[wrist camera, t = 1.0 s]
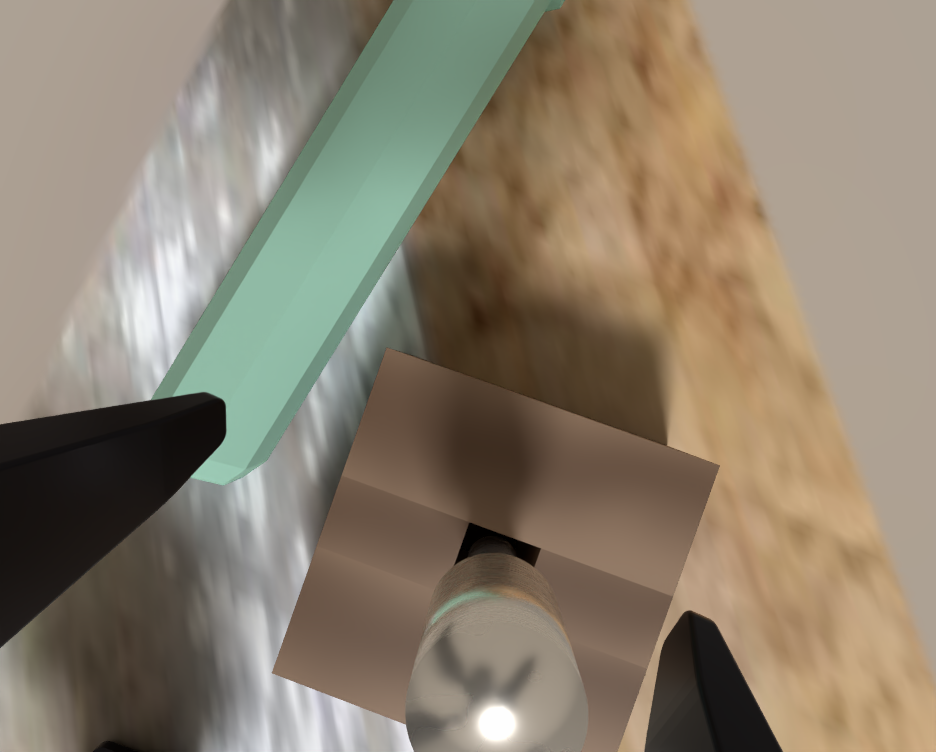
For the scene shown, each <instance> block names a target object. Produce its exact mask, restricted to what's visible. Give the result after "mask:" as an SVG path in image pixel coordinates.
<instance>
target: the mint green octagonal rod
mask: <svg viewBox="0 0 936 752" xmlns="http://www.w3.org/2000/svg"><path fill="white" fill-rule="evenodd" d="M564 1H565V0H393V2H392V4H391V5H390V7H389V9H388V10H387V12H386V13H385V15H384V17H383V18H382V20H381V22H380V23H379V25H378V27H377V28H376V30H375V32H374V33H373V35H372V37H371V38H370V40H369V41H368V43H367V45H366V46H365V48H364V50H363V51H362V53H361V55H360V56H359V58H358V60H357V61H356V63H355V65H354V66H353V68H352V69H351V71H350V73H349V74H348V76H347V78H346V79H345V81H344V83H343V84H342V86H341V88H340V89H339V91H338V93H337V94H336V96H335V97H334V99H333V101H332V102H331V104H330V106H329V107H328V109H327V111H326V112H325V114H324V116H323V117H322V119H321V120H320V122H319V124H318V125H317V127H316V129H315V130H314V132H313V134H312V135H311V137H310V139H309V140H308V142H307V144H306V145H305V147H304V148H303V150H302V152H301V153H300V155H299V157H298V158H297V160H296V162H295V163H294V165H293V167H292V168H291V170H290V172H289V173H288V175H287V176H286V178H285V180H284V181H283V183H282V185H281V186H280V188H279V190H278V191H277V193H276V195H275V196H274V198H273V200H272V201H271V203H270V204H269V206H268V208H267V209H266V211H265V213H264V214H263V216H262V218H261V219H260V221H259V223H258V224H257V226H256V228H255V229H254V231H253V232H252V234H251V236H250V237H249V239H248V241H247V242H246V244H245V246H244V247H243V249H242V251H241V252H240V254H239V256H238V257H237V259H236V260H235V262H234V264H233V265H232V267H231V269H230V270H229V272H228V274H227V275H226V277H225V279H224V280H223V282H222V283H221V285H220V287H219V288H218V290H217V292H216V293H215V295H214V297H213V298H212V300H211V302H210V303H209V305H208V307H207V308H206V310H205V311H204V313H203V315H202V316H201V318H200V320H199V321H198V323H197V325H196V326H195V328H194V330H193V331H192V333H191V335H190V336H189V338H188V339H187V341H186V343H185V344H184V346H183V348H182V349H181V351H180V353H179V354H178V356H177V358H176V359H175V361H174V363H173V364H172V366H171V367H170V369H169V371H168V372H167V374H166V376H165V377H164V379H163V381H162V382H161V384H160V386H159V387H158V389H157V391H156V392H155V394H154V395H153V397H152V399H151V400H155V399H162V398H168V397H174V396H180V395H186V394H193V393H199V392H208V393H210V394H213V395H215V396H217V397H219V398H221V399H223V400H224V402H225V404H226V428H227V432H226V437H225V439H224V441H223V442H222V444H221V445H220V446H219V447H218V448H217V449H216V451H215V452H214V453H213V454H212V455H211V456H210V457H209V458H208V459H207V460H206V461H205V462H204V463H203V464H202V465H201V466H200V467H199V469H198V470H197V471H196V472H195V473H194V474H193V475H192V476H191V477H190V478H194V479H198V480H202V481H207V482H211V483H215V484H219V485H226V484H228V483H230V482H233V481H235V480H237V479H240V478H242V477H244V476H245V475H247V474H248V473H250V472H251V471H252V470H254V469H255V468H257V467H258V466H260V465H261V464H263V463H264V462H266V461H267V459H268V458H269V456H270V454H271V453H272V451H273V450H274V448H275V446H276V445H277V443H278V442H279V440H280V438H281V437H282V435H283V433H284V432H285V430H286V429H287V427H288V425H289V424H290V422H291V421H292V419H293V417H294V416H295V414H296V412H297V411H298V409H299V408H300V406H301V404H302V403H303V401H304V400H305V398H306V396H307V395H308V393H309V391H310V390H311V388H312V387H313V385H314V383H315V382H316V380H317V379H318V377H319V375H320V374H321V372H322V370H323V369H324V367H325V366H326V364H327V362H328V361H329V359H330V358H331V356H332V354H333V353H334V351H335V349H336V348H337V346H338V345H339V343H340V341H341V340H342V338H343V337H344V335H345V333H346V332H347V330H348V328H349V327H350V325H351V324H352V322H353V320H354V319H355V317H356V316H357V314H358V312H359V311H360V309H361V307H362V306H363V304H364V303H365V301H366V299H367V298H368V296H369V295H370V293H371V291H372V290H373V288H374V286H375V285H376V283H377V282H378V280H379V278H380V277H381V275H382V274H383V272H384V270H385V269H386V267H387V265H388V264H389V262H390V261H391V259H392V257H393V256H394V254H395V253H396V251H397V249H398V248H399V246H400V244H401V243H402V241H403V240H404V238H405V236H406V235H407V233H408V232H409V230H410V228H411V227H412V225H413V223H414V222H415V220H416V219H417V217H418V215H419V214H420V212H421V211H422V209H423V207H424V206H425V204H426V202H427V201H428V199H429V198H430V196H431V194H432V193H433V191H434V190H435V188H436V186H437V185H438V183H439V181H440V180H441V178H442V177H443V175H444V173H445V172H446V170H447V169H448V167H449V165H450V164H451V162H452V160H453V159H454V157H455V156H456V154H457V152H458V151H459V149H460V148H461V146H462V144H463V143H464V141H465V139H466V138H467V136H468V135H469V133H470V131H471V130H472V128H473V127H474V125H475V123H476V122H477V120H478V118H479V117H480V115H481V114H482V112H483V110H484V109H485V107H486V106H487V104H488V102H489V101H490V99H491V97H492V96H493V94H494V93H495V91H496V89H497V88H498V86H499V85H500V83H501V81H502V80H503V78H504V76H505V75H506V73H507V72H508V70H509V68H510V67H511V65H512V64H513V62H514V60H515V59H516V57H517V55H518V54H519V52H520V51H521V49H522V47H523V46H524V44H525V43H526V41H527V39H528V38H529V36H530V34H531V33H532V31H533V30H534V28H535V26H536V25H537V23H538V22H539V20H540V18H541V17H542V15H543V13H544V12H546V11H551V10H556V9H560V7H561V6H562V4H563V3H564Z"/></svg>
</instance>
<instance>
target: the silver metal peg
mask: <svg viewBox="0 0 936 752" xmlns="http://www.w3.org/2000/svg"><path fill="white" fill-rule="evenodd" d="M405 718H406V727H407V731H408V735H409V739H410V742H411V745H412V747H413V750H414V752H581V750H582V748H583V745H584V742H585V738H586V734H587V727H588V704H587V697H586V693H585V690H584V686H583V683H582V679H581V676H580V673H579V670H578V667H577V663H576V660H575V657H574V654H573V651H572V647H571V644H570V641H569V638H568V635H567V631H566V628H565V625H564V622H563V619H562V616H561V612H560V609H559V606H558V603H557V600H556V597H555V594H554V592H553V590H552V588H551V586H550V585H549V583H548V582H547V580H546V579H545V578H544V576H543V575H542V574H541V573H540V572H539V571H538V570H537V569H535V568H534V567H533V566H532V565H530V564H529V563H527V562H525V561H524V560H521V559H519V558H517V556H516V552H515V550H514V548H513V547H512V545H511V544H510V543H509V542H508V541H507V540H505V539H503V538H501V537H498V536H486V537H483V538H481V539H479V540H477V541H476V542H475V543H474V544H473V545H472V547H471V548H470V550H469V553H468V558H466V559H464V560H462V561H461V562H459V563H457V564H456V565H455V566H453V567H452V568H451V569H450V570H449V571H448V572H446V573H445V575H444V576H443V577H442V578H441V580H440V581H439V583H438V584H437V586H436V588H435V590H434V592H433V595H432V598H431V601H430V605H429V609H428V613H427V616H426V620H425V624H424V628H423V632H422V636H421V640H420V644H419V648H418V652H417V655H416V659H415V663H414V667H413V671H412V675H411V679H410V683H409V687H408V690H407V696H406V703H405Z"/></svg>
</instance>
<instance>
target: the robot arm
mask: <svg viewBox="0 0 936 752" xmlns="http://www.w3.org/2000/svg"><path fill="white" fill-rule="evenodd" d="M226 432H227V428H226V404H225V402H224V400H223V399H221V398H219V397H217V396H215V395H213V394H210V393H208V392H199V393H193V394H186V395H180V396H174V397H168V398H162V399H155V400H149V401H143V402H137V403H130V404H124V405H118V406H112V407H106V408H99V409H93V410H87V411H81V412H75V413H68V414H62V415H56V416H50V417H44V418H37V419H31V420H25V421H19V422H12V423H6V424H1V425H0V648H1V647H2V646H3V645H4V644H5V643H6V642H8V641H9V640H10V639H11V638H12V637H13V636H14V635H16V634H17V633H18V632H19V631H20V630H21V629H22V628H24V627H25V626H26V625H27V624H28V623H29V622H30V621H32V620H33V619H34V618H35V617H36V616H37V615H38V614H40V613H41V612H42V611H43V610H44V609H45V608H46V607H48V606H49V605H50V604H51V603H52V602H53V601H54V600H56V599H57V598H58V597H59V596H60V595H61V594H62V593H64V592H65V591H66V590H67V589H68V588H69V587H70V586H72V585H73V584H74V583H75V582H76V581H77V580H78V579H79V578H81V577H82V576H83V575H84V574H85V573H86V572H87V571H89V570H90V569H91V568H92V567H93V566H94V565H95V564H97V563H98V562H99V561H100V560H101V559H102V558H103V557H105V556H106V555H107V554H108V553H109V552H110V551H111V550H113V549H114V548H115V547H116V546H117V545H118V544H119V543H121V542H122V541H123V540H124V539H125V538H126V537H127V536H129V535H130V534H131V533H132V532H133V531H134V530H135V529H137V528H138V527H139V526H140V525H141V524H142V523H143V522H145V521H146V520H147V519H148V518H149V517H150V516H151V515H153V514H154V513H155V512H156V511H157V510H158V509H159V508H160V507H161V506H163V505H164V504H165V503H166V502H167V501H168V500H169V499H170V498H171V497H172V496H173V495H174V494H175V493H176V492H177V491H178V490H179V489H180V488H181V487H182V485H183V484H184V483H185V482H186V481H187V480H188V479H189V478H190V477H191V476H192V475H193V474H194V473H195V472H196V471H197V470H198V469H199V467H200V466H201V465H202V464H203V463H204V462H205V461H206V460H207V459H208V458H209V457H210V456H211V455H212V454H213V453H214V452H215V451H216V449H217V448H218V447H219V446H220V445H221V444H222V442H223V441H224V439H225V437H226ZM93 752H137V751H134V750H132V749H129V748H127V747H124V746H122V745H119V744H116V743H114V742H111V741H106V742H103V743H102V744H100V745H99V746H98V747H97V748H96V749H95V750H94V751H93ZM644 752H783V751H782V749H781V747H780V745H779V743H778V742H777V740H776V738H775V736H774V734H773V732H772V730H771V728H770V726H769V724H768V722H767V721H766V719H765V717H764V715H763V713H762V711H761V709H760V707H759V705H758V703H757V701H756V700H755V698H754V696H753V694H752V692H751V690H750V688H749V686H748V684H747V682H746V680H745V679H744V677H743V675H742V673H741V671H740V669H739V667H738V665H737V663H736V661H735V659H734V658H733V656H732V654H731V652H730V650H729V648H728V646H727V644H726V642H725V640H724V638H723V637H722V635H721V633H720V631H719V629H718V627H717V625H716V624H715V623H714V622H713V621H712V620H711V619H709V618H706V617H704V616H702V615H700V614H698V613H695V612H693V611H686V612H684V613H683V615H682V616H681V617H680V619H679V620H678V622H677V623H676V625H675V626H674V628H673V629H672V631H671V632H670V633H669V635H668V636H667V638H666V640H665V642H664V644H663V647H662V650H661V654H660V660H659V666H658V672H657V678H656V684H655V689H654V695H653V701H652V707H651V713H650V719H649V725H648V731H647V737H646V744H645V751H644Z"/></svg>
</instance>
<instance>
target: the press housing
mask: <svg viewBox="0 0 936 752" xmlns="http://www.w3.org/2000/svg"><path fill="white" fill-rule="evenodd" d="M719 467H720V465H717V464H714V463H712V462H709V461H706V460H704V459H701V458H698V457H696V456H693V455H690V454H688V453H685V452H682V451H680V450H677V449H674V448H671V447H669V446H666V445H663V444H660V443H658V442H655V441H652V440H649V439H646V438H643V437H641V436H638V435H635V434H632V433H629V432H627V431H624V430H621V429H618V428H615V427H612V426H610V425H607V424H604V423H601V422H598V421H595V420H593V419H590V418H587V417H584V416H581V415H579V414H576V413H573V412H570V411H567V410H564V409H562V408H559V407H556V406H553V405H550V404H547V403H545V402H542V401H539V400H536V399H533V398H531V397H528V396H525V395H522V394H519V393H516V392H514V391H511V390H508V389H505V388H502V387H499V386H497V385H494V384H491V383H488V382H485V381H483V380H480V379H477V378H474V377H471V376H468V375H466V374H463V373H460V372H457V371H454V370H451V369H449V368H446V367H443V366H440V365H437V364H435V363H432V362H429V361H426V360H423V359H420V358H418V357H415V356H412V355H409V354H406V353H403V352H400V351H396V350H393V349H390V348H386V351H385V354H384V356H383V359H382V362H381V365H380V368H379V371H378V373H377V376H376V379H375V382H374V385H373V388H372V391H371V393H370V396H369V399H368V402H367V405H366V408H365V410H364V413H363V416H362V419H361V422H360V425H359V427H358V430H357V433H356V436H355V439H354V442H353V444H352V447H351V450H350V453H349V456H348V459H347V461H346V464H345V467H344V470H343V473H342V476H341V478H340V481H339V484H338V487H337V490H336V493H335V495H334V498H333V501H332V504H331V507H330V510H329V512H328V515H327V518H326V521H325V524H324V527H323V529H322V532H321V535H320V538H319V541H318V544H317V547H316V549H315V552H314V555H313V558H312V561H311V564H310V566H309V569H308V572H307V575H306V578H305V581H304V583H303V586H302V589H301V592H300V595H299V598H298V600H297V603H296V606H295V609H294V612H293V615H292V617H291V620H290V623H289V626H288V629H287V632H286V634H285V637H284V640H283V643H282V646H281V649H280V651H279V654H278V657H277V660H276V663H275V666H274V668H273V671H272V673H273V674H275V675H278V676H281V677H283V678H286V679H289V680H291V681H294V682H296V683H299V684H302V685H304V686H307V687H309V688H312V689H315V690H317V691H320V692H322V693H325V694H328V695H330V696H333V697H335V698H338V699H341V700H343V701H346V702H349V703H351V704H354V705H356V706H359V707H362V708H364V709H367V710H369V711H372V712H375V713H377V714H380V715H382V716H385V717H388V718H390V719H393V720H396V721H398V722H401V723H403V724H406V718H405V703H406V696H407V690H408V687H409V683H410V679H411V675H412V671H413V667H414V663H415V659H416V655H417V652H418V648H419V644H420V640H421V636H422V632H423V628H424V624H425V620H426V616H427V613H428V609H429V605H430V601H431V598H432V595H433V592H434V590H435V588H436V586H437V584H438V583H439V581H440V580H441V578H442V577H443V576H444V575H445V573H446V572H448V571H449V570H450V569H451V568H452V567H453V566H455V565H456V564H457V563H459V562H461V561H462V560H464V559H466V558H468V553H469V552H468V551H466V550H463V549H460V547H461V544H462V541H463V539H464V536H465V533H466V530H467V527H468V525H469V522H470V523H473V524H476V525H478V526H481V527H484V528H487V529H489V530H492V531H495V532H498V533H500V534H503V535H506V536H509V537H511V538H514V539H517V540H519V541H518V544H517V547H516V549H515V552H516V556H517V558H519V559H521V560H524V561H525V562H527V563H529V564H530V565H532V566H533V567H534V568H535V569H537V570H538V571H539V572H540V573H541V574H542V575H543V576H544V578H545V579H546V580H547V582H548V583H549V585H550V586H551V588H552V590H553V592H554V594H555V597H556V600H557V603H558V606H559V609H560V612H561V616H562V619H563V622H564V625H565V628H566V631H567V635H568V638H569V641H570V644H571V647H572V651H573V654H574V657H575V660H576V663H577V667H578V670H579V673H580V676H581V679H582V683H583V686H584V690H585V693H586V697H587V704H588V727H587V734H586V738H585V742H584V745H583V748H582V750H581V752H617V751H618V748H619V746H620V743H621V740H622V737H623V735H624V732H625V729H626V726H627V723H628V721H629V718H630V715H631V712H632V709H633V707H634V704H635V701H636V698H637V695H638V693H639V690H640V687H641V684H642V682H643V679H644V676H645V673H646V670H647V668H648V665H649V662H650V659H651V656H652V654H653V651H654V648H655V645H656V642H657V640H658V637H659V634H660V631H661V629H662V626H663V623H664V620H665V617H666V615H667V612H668V609H669V606H670V603H671V601H672V598H673V595H674V592H675V589H676V587H677V584H678V581H679V578H680V575H681V573H682V570H683V567H684V564H685V562H686V559H687V556H688V553H689V550H690V548H691V545H692V542H693V539H694V536H695V534H696V531H697V528H698V525H699V522H700V520H701V517H702V514H703V511H704V509H705V506H706V503H707V500H708V497H709V495H710V492H711V489H712V486H713V483H714V481H715V478H716V475H717V472H718V469H719Z"/></svg>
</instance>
